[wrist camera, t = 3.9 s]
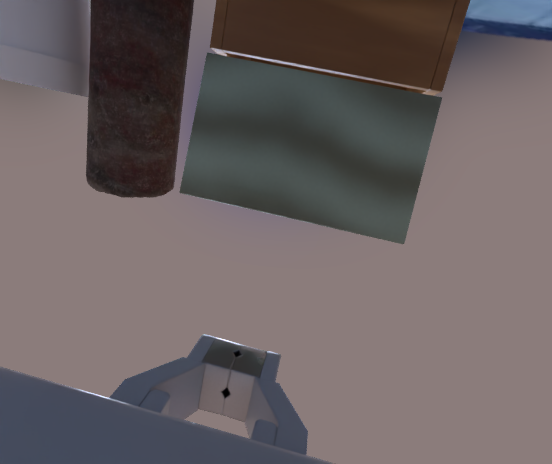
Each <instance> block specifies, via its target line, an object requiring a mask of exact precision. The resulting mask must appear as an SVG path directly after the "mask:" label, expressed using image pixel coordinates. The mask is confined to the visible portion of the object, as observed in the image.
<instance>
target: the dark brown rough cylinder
mask: <svg viewBox="0 0 552 464" xmlns="http://www.w3.org/2000/svg"><path fill="white" fill-rule="evenodd" d="M193 3H194V0H91V16H90V63H89V100H88V133H87V165H86V177H87V182H88V184H89V185H90V186H91V187H92V188H94V189H95V190H97V191H99V192H105V193H108V194H113V195H117V196H120V197H157V196H161V195H164V194H166V193H167V192H169V191H171V190H172V189H173V187H174V182H175V170H176V161H177V150H178V142H179V133H180V123H181V112H182V103H183V93H184V85H185V75H186V67H187V58H188V49H189V40H190V31H191V22H192V15H193Z"/></svg>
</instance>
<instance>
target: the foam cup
mask: <svg viewBox="0 0 552 464" xmlns="http://www.w3.org/2000/svg"><path fill="white" fill-rule="evenodd" d="M89 63H90V5H89V0H0V79H3V80H8V81H13V82H18V83H22V84H27V85H32V86H37V87H42V88H47V89H51V90H56V91H61V92H66V93H71V94H76V95H81V96H86V97H89Z"/></svg>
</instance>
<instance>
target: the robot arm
mask: <svg viewBox="0 0 552 464" xmlns="http://www.w3.org/2000/svg"><path fill="white" fill-rule="evenodd" d="M280 358H281V355H280V354H277V353H273V352H267V351H264V350H259V349H255V348H251V347H247V346H243V345H241V344H237V343H234V342H230V341H227V340H224V339H220V338H216V337H213V336H209V335H205V334H203V335H202V336H201V337H200V339H199V340H198V342H197V343H196V345H195V346H194V348H193V349H192V351H191V353H190V354H189V355H188V357H187V358H184V357H182V358H180V359H177V360H174V361H172V362H169V363H167V364H164V365H161V366H159V367H156V368H153V369H151V370H148V371H146V372H143V373H141V374H138V375H136V376H133V377H130V378H127V379H125V380H124V381H123V382H122V384H121V385H120V386H119V387H118V388H117V389H116V390H115V392H114V393H113V394H112V395H111V396H110V397H109V398H106V397H103V396H100V395H96V394H93V393H90V392H86V391H82V390H79V389H76V388H72V387H69V386H65V385H62V384H58V383H55V382H51V381H48V380H45V379H41V378H37V377H34V376H30V375H27V374H24V373H21V372H17V371H14V370H10V369H7V368H3V367H0V464H335V463H331V462H328V461H324V460H321V459H317V458H313V457H310V456H307V455H306V451H307V436H308V431H307V429H306V428H305V426H304V425H303V423H302V421H301V419H300V418H299V416H298V414H297V413H296V411H295V409H294V408H293V406H292V404H291V403H290V401H289V399H288V398H287V396H286V394H285V393H284V391H283V389H282V388H281V386H280V384H279V383H276V382H275V380H276V376H277V372H278V367H279V362H280ZM198 409H200V410H204V411H208V412H213V413H216V414H220V415H224V416H227V417H230V418H233V419H236V420H239V421H242V422H245V425H246V428H247V431H248V435H249V438H250V439H248V438H245V437H241V436H238V435H234V434H231V433H227V432H224V431H221V430H217V429H214V428H210V427H207V426H203V425H200V424H196V423H193V422H189V421H186V420H184V419H186V418H187V417H189V416H190V415H191V414H193V413H194V412H196V411H197V410H198Z"/></svg>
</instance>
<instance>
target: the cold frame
mask: <svg viewBox="0 0 552 464" xmlns="http://www.w3.org/2000/svg"><path fill="white" fill-rule="evenodd" d="M469 3H470V0H216V8H215V14H214V22H213V29H212V37H211V44H210V48H212V49H213V50H214V51H215V52H216V53H217V54H218V55H223V56H228V57H233V58H239V59H244V60H249V61H254V62H259V63H265V64H270V65H275V66H280V67H286V68H291V69H296V70H301V71H306V72H312V73H317V74H322V75H327V76H332V77H338V78H343V79H348V80H353V81H358V82H364V83H369V84H374V85H379V86H384V87H390V88H395V89H400V90H405V91H411V92H416V93H421V94H426V95H431V96H433V95H436V94H438V93H440V92H442V90H443V87H444V84H445V81H446V77H447V74H448V71H449V67H450V64H451V61H452V58H453V55H454V51H455V48H456V45H457V42H458V38H459V35H460V32H461V29H462V25H463V22H464V19H465V16H466V12H467V9H468V6H469Z"/></svg>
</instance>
